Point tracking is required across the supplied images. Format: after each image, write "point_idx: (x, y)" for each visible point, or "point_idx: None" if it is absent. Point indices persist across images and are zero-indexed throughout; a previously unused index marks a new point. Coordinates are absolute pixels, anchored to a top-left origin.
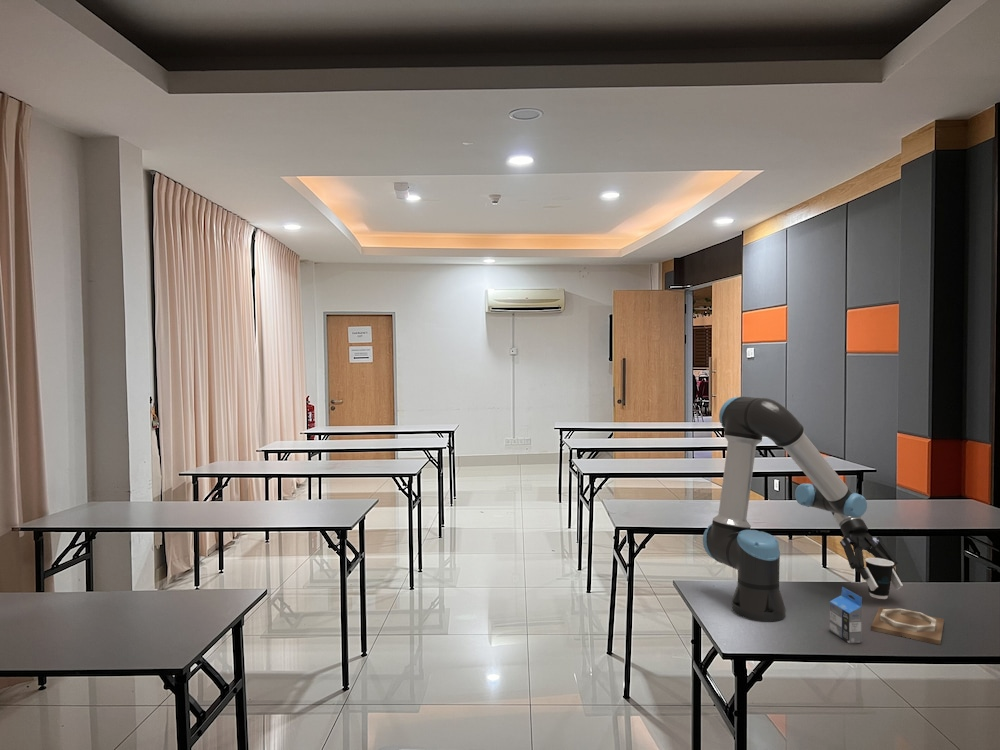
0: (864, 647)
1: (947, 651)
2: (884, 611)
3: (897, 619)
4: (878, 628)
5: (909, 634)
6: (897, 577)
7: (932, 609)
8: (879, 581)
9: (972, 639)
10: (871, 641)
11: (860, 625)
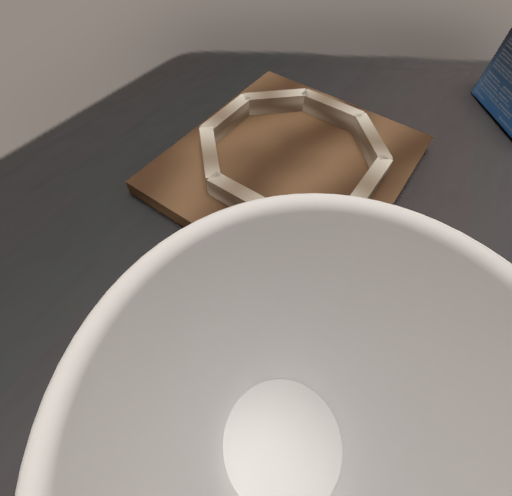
0: (466, 78)
1: (272, 63)
2: (361, 189)
3: (317, 178)
4: (410, 131)
5: (332, 98)
6: None
7: (28, 339)
8: (333, 334)
9: (150, 104)
10: (442, 98)
11: (506, 39)
